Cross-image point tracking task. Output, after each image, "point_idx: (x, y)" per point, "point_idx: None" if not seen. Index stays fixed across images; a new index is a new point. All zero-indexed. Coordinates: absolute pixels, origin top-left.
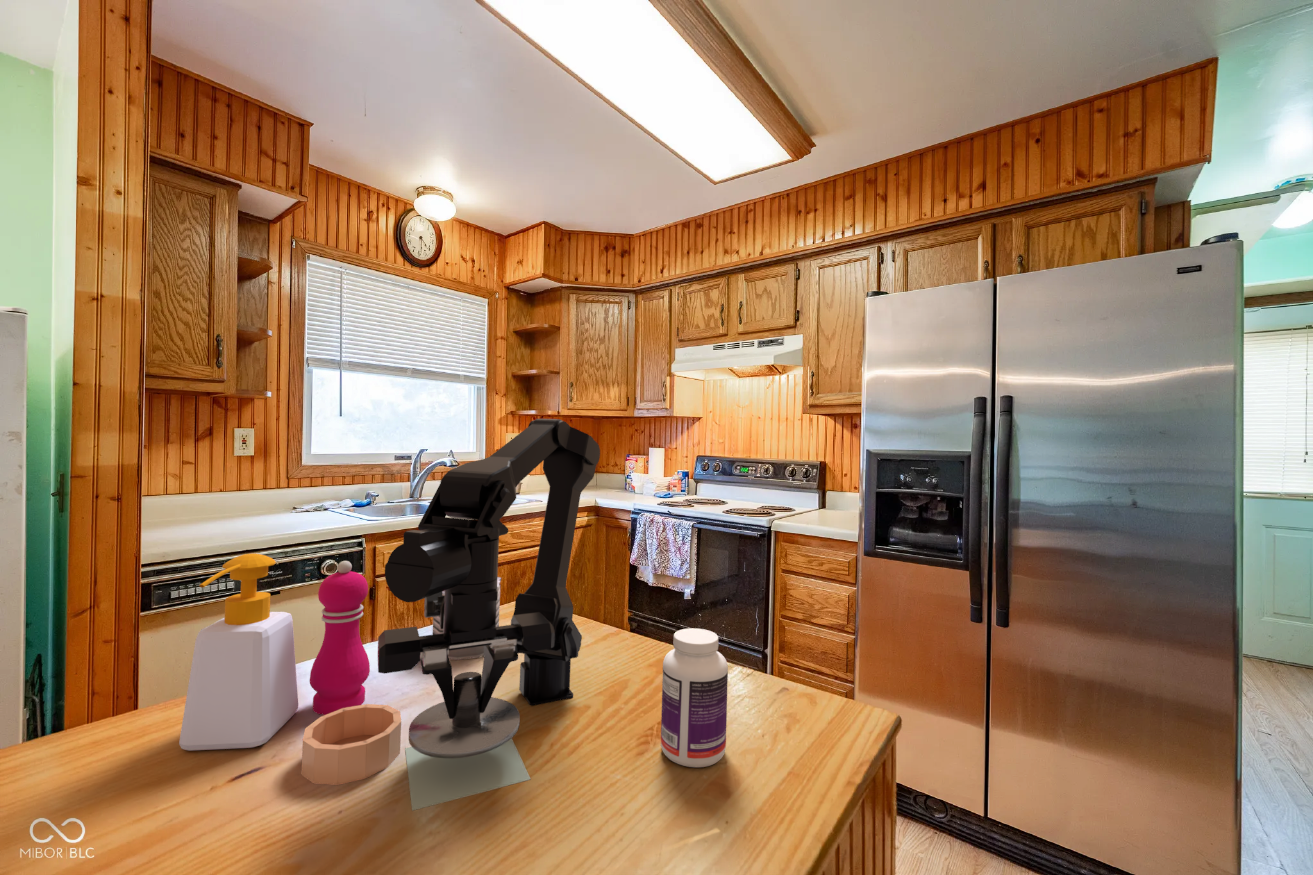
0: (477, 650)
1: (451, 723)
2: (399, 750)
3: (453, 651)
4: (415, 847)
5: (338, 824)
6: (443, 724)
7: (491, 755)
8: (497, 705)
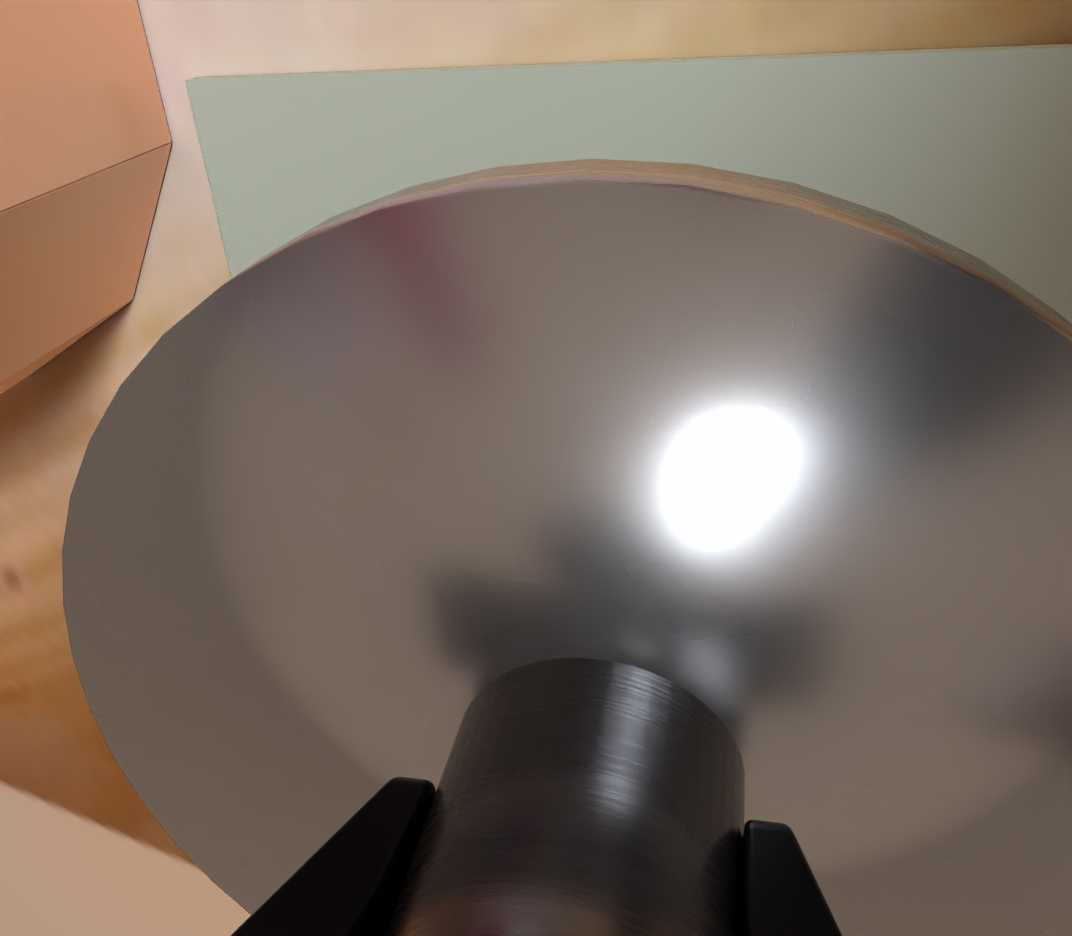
0: None
1: (452, 741)
2: (142, 168)
3: None
4: None
5: (41, 654)
6: (376, 727)
7: None
8: (1064, 632)
